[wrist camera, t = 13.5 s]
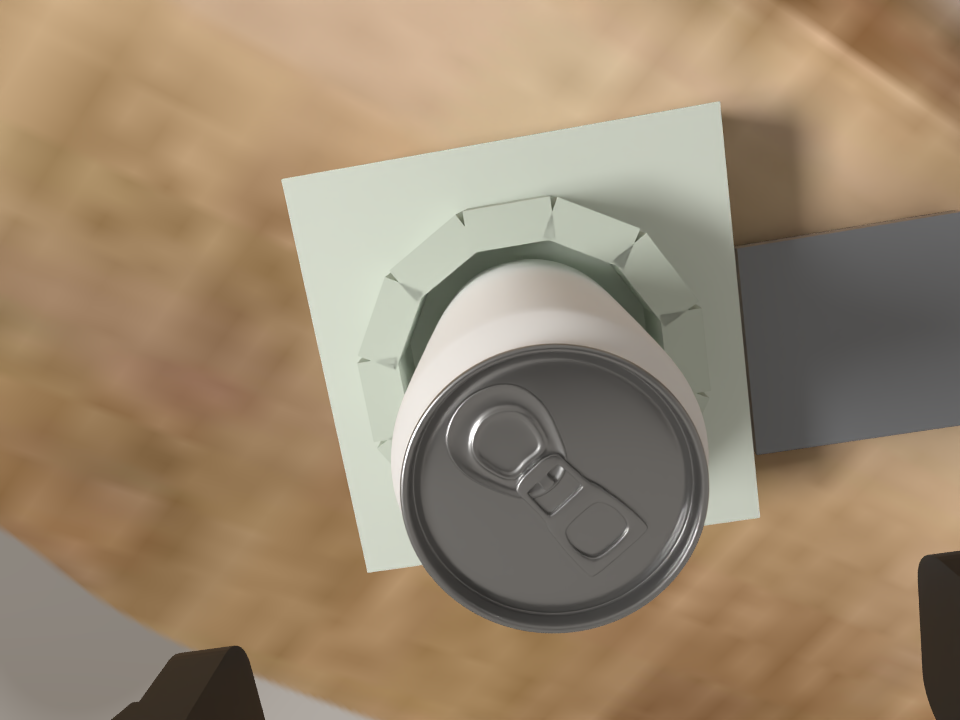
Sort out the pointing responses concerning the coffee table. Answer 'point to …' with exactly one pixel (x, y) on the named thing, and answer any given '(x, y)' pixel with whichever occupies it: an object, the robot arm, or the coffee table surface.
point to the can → (548, 453)
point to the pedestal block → (515, 236)
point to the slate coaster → (852, 332)
